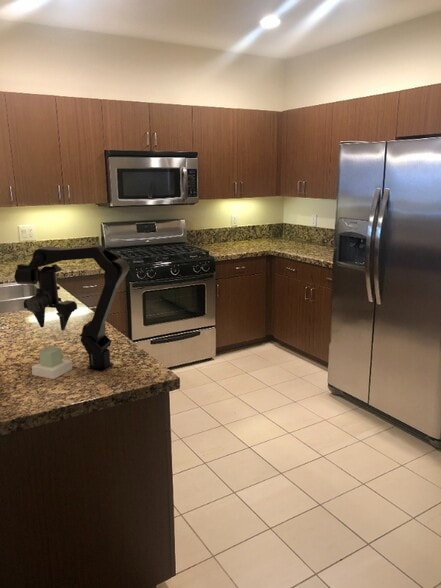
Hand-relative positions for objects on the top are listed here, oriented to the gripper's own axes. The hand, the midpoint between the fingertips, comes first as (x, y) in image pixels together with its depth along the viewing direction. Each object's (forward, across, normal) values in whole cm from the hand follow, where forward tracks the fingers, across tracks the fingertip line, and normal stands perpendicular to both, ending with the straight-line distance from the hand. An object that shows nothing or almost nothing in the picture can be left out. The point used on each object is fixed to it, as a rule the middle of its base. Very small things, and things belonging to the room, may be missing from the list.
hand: (52, 328), depth 163 cm
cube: (+10, +4, -6) cm, 12 cm away
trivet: (+13, +4, -6) cm, 15 cm away
